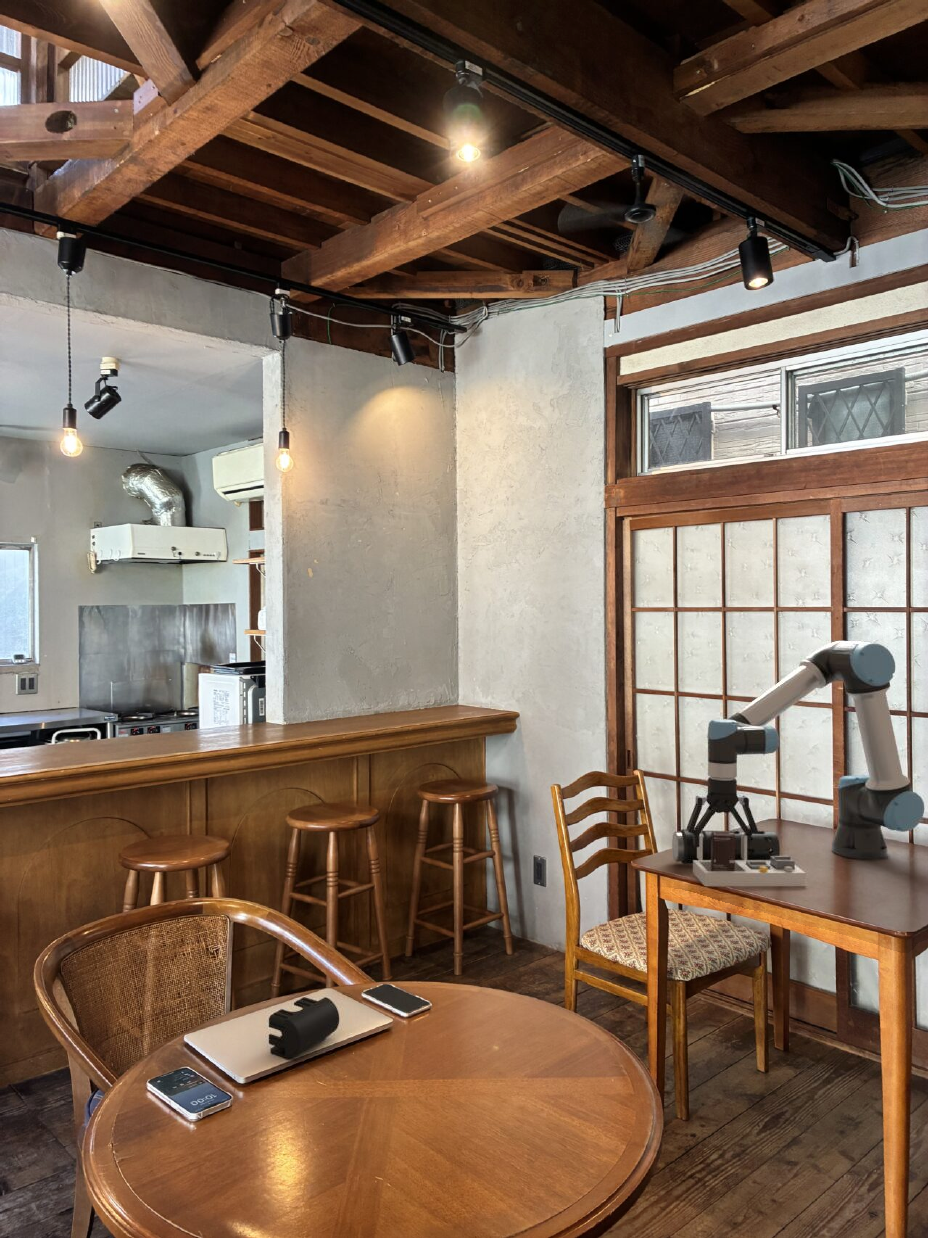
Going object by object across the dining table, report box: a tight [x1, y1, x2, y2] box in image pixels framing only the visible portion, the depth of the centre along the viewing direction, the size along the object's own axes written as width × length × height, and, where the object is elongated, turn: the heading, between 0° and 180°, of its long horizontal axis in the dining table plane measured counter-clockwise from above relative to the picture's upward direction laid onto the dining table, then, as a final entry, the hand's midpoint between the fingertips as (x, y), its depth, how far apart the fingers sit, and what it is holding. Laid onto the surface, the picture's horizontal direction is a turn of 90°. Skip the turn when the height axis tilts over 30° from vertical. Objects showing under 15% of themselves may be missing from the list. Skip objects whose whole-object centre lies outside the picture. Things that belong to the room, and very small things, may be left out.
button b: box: [746, 861, 770, 869], centre depth 241 cm, size 5×5×4 cm
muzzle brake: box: [671, 828, 781, 865], centre depth 253 cm, size 10×28×10 cm, turn 89°
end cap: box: [268, 996, 340, 1060], centre depth 148 cm, size 10×7×7 cm
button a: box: [770, 855, 796, 869], centre depth 241 cm, size 5×5×4 cm
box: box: [711, 830, 735, 871], centre depth 241 cm, size 6×4×12 cm
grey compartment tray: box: [692, 860, 807, 887], centre depth 241 cm, size 26×12×4 cm, turn 90°
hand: (721, 859), depth 241 cm, fingers open, 11 cm apart
